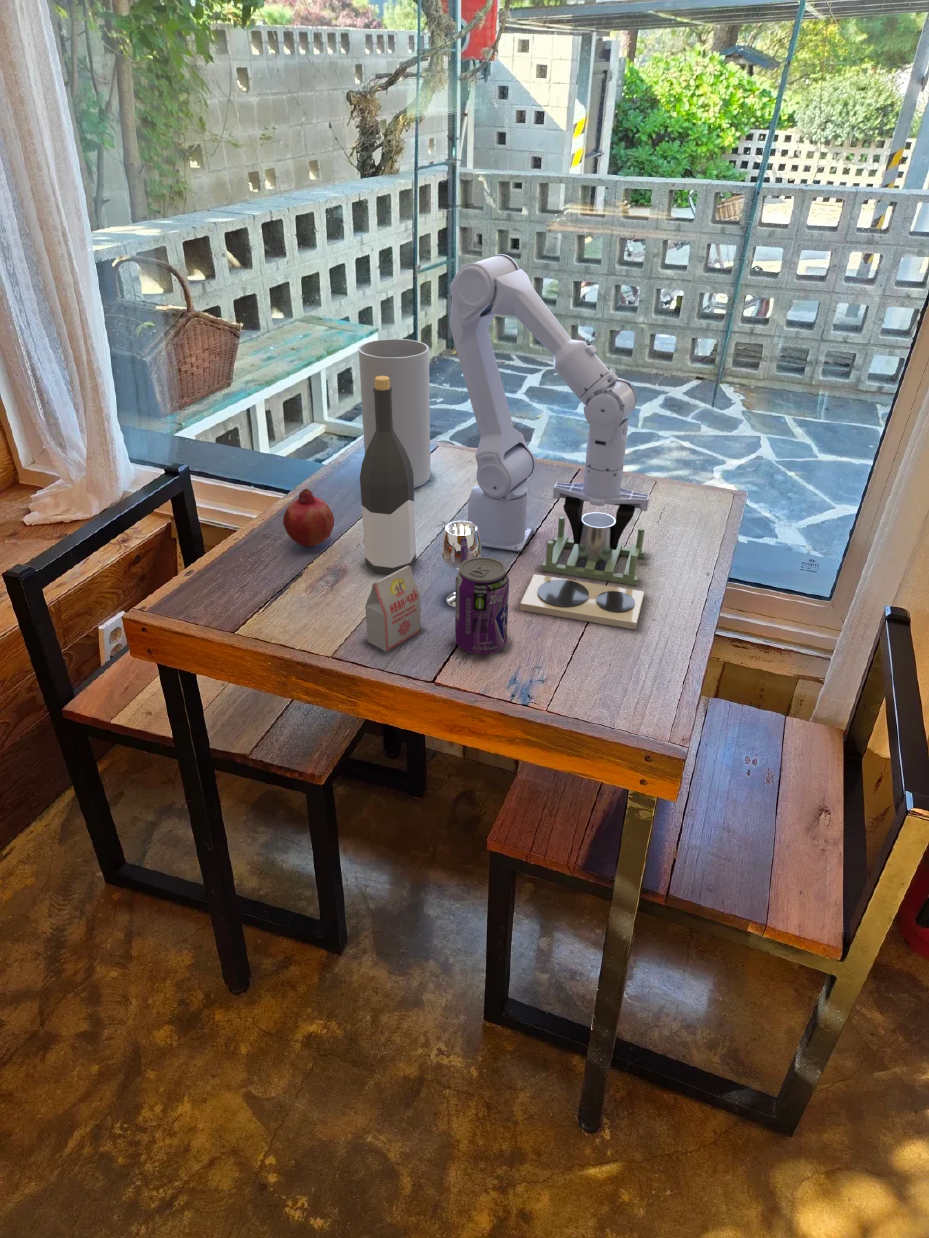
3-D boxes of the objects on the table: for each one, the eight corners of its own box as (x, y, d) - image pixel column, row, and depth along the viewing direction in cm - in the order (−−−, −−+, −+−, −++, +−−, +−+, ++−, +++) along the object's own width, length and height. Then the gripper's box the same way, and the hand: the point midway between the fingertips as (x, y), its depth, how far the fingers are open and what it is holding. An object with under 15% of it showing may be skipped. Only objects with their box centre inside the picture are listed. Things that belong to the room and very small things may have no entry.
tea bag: (367, 641, 114) (363, 579, 108) (402, 621, 118) (399, 560, 113) (386, 651, 112) (383, 588, 106) (420, 631, 116) (419, 569, 111)
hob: (519, 610, 121) (519, 601, 120) (533, 580, 128) (534, 572, 127) (635, 630, 117) (637, 621, 116) (643, 598, 124) (644, 589, 123)
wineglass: (452, 614, 120) (452, 540, 113) (435, 595, 124) (434, 524, 118) (487, 604, 122) (489, 532, 115) (469, 586, 126) (470, 516, 120)
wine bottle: (387, 547, 137) (378, 366, 120) (426, 561, 133) (422, 376, 116) (355, 566, 131) (341, 379, 115) (394, 581, 127) (385, 390, 111)
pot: (574, 558, 130) (577, 524, 127) (580, 543, 135) (584, 510, 132) (609, 564, 129) (613, 529, 126) (614, 548, 134) (618, 514, 130)
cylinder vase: (441, 472, 163) (440, 344, 149) (412, 496, 153) (408, 361, 140) (385, 461, 167) (380, 336, 154) (354, 484, 158) (345, 352, 144)
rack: (541, 570, 131) (543, 542, 128) (554, 542, 139) (556, 515, 136) (636, 585, 127) (640, 557, 124) (644, 555, 135) (648, 528, 132)
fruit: (343, 548, 136) (339, 493, 131) (297, 560, 133) (291, 504, 127) (324, 529, 142) (318, 475, 136) (279, 540, 138) (272, 485, 133)
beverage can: (489, 664, 110) (492, 587, 103) (445, 648, 113) (444, 572, 106) (515, 639, 115) (519, 564, 108) (472, 623, 118) (473, 549, 111)
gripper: (551, 467, 122) (545, 548, 130) (650, 480, 119) (638, 562, 126) (560, 451, 128) (554, 529, 135) (655, 462, 124) (643, 542, 132)
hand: (595, 544), depth 131 cm, fingers closed on pot, 5 cm apart
